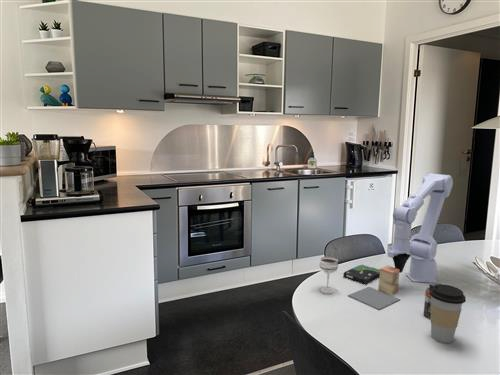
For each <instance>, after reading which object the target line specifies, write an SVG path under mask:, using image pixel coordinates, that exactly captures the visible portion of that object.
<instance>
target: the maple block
mask: <svg viewBox="0 0 500 375" xmlns="http://www.w3.org/2000/svg"><path fill="white" fill-rule="evenodd" d="M379 270H380V276H379V278H378V289H377V290H379V291H381V292H384V293H386V294H389V295H391V296H393V295H395V294H397V293H398V291H399V283H400V274H401V273H400V270H399V269H396V268H395V267H393V266H391V265H385V266H383V267H380V269H379Z"/></svg>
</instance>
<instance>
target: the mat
mask: <svg viewBox="0 0 500 375" xmlns="http://www.w3.org/2000/svg"><path fill="white" fill-rule="evenodd" d="M347 297H349V298H351V299H354V300H355V301H357V302H360V303H363V304H364V305H366V306H369V307H371V308H373V309H375V310H378V311H381V310H383V309H385V308H387V307H389V306H391V305H393V304H395V303H397V302H400V301H401V298H399V297H395V296H393V295H389V294H386V293H384V292H381V291H379V290H378V289H376V288H374V287H372V286H371V287H370V286H367V287H364V288H362V289H359V290H357V291H355V292H352V293H350V294H347Z"/></svg>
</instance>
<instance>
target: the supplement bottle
mask: <svg viewBox="0 0 500 375" xmlns="http://www.w3.org/2000/svg"><path fill="white" fill-rule="evenodd" d="M438 284H442V282H438V281H436V282H429V287H427V288H425V294H424V295H425V297H424V306H423V315H424V316H425V317H426V318H428V319H430V320H431V295H430V294H429V292H430V289H432V288H433V286H434V285H438Z"/></svg>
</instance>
